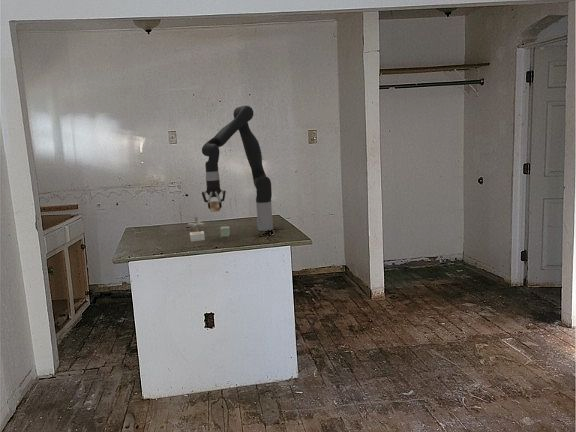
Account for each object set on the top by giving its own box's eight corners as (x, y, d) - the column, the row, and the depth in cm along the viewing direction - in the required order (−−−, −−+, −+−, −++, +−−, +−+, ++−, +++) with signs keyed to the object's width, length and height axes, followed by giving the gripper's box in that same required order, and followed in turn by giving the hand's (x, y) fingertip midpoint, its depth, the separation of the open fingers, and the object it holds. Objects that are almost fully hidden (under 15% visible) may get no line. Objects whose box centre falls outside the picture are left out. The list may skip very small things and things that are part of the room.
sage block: (229, 234, 307) (229, 226, 306) (229, 236, 302) (229, 228, 302) (221, 235, 307) (220, 226, 306) (221, 236, 302) (220, 228, 301)
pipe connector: (202, 234, 312) (200, 218, 311) (186, 234, 314) (185, 218, 313) (207, 230, 322) (206, 215, 320) (192, 230, 324) (191, 215, 322)
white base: (204, 237, 303) (203, 230, 303) (205, 240, 296) (204, 233, 295) (190, 239, 302) (189, 232, 301) (190, 242, 294) (190, 234, 293)
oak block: (219, 209, 296) (219, 201, 296) (219, 211, 292) (218, 202, 291) (211, 210, 296) (210, 201, 295) (210, 211, 291) (209, 202, 290)
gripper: (225, 177, 295) (227, 207, 298) (200, 179, 294) (202, 208, 297) (225, 179, 288) (227, 209, 290) (199, 180, 286) (201, 211, 289)
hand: (215, 208), depth 294 cm, fingers closed on oak block, 5 cm apart
